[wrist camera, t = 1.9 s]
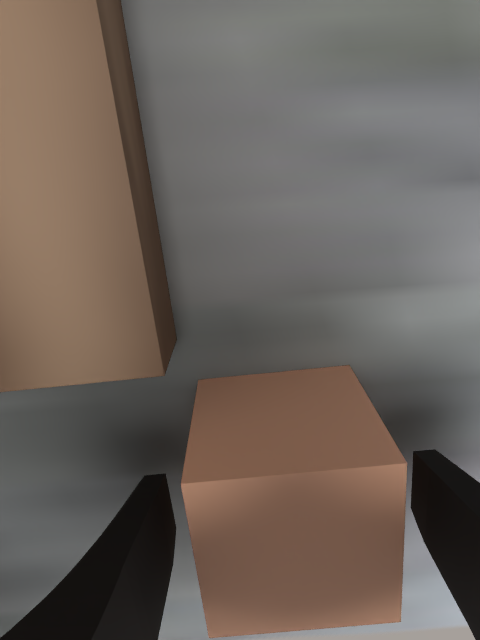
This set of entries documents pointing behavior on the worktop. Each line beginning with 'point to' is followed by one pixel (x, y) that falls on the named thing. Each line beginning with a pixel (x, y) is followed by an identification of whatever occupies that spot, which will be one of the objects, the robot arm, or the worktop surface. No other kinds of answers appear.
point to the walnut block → (75, 204)
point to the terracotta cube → (293, 503)
